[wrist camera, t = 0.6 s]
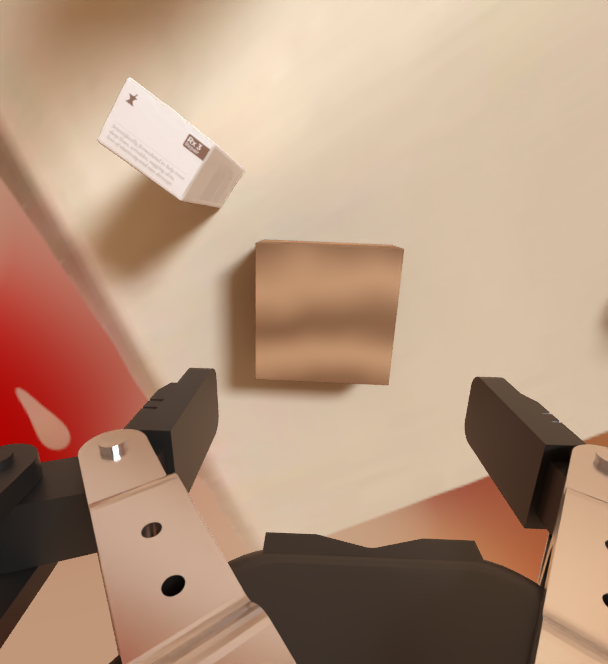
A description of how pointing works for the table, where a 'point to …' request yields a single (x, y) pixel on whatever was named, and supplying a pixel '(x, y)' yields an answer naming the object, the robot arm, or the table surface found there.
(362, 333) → the walnut block
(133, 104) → the skincare box
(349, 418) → the table surface
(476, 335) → the table surface
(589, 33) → the table surface
